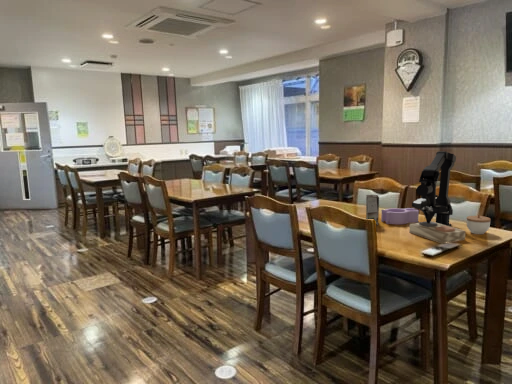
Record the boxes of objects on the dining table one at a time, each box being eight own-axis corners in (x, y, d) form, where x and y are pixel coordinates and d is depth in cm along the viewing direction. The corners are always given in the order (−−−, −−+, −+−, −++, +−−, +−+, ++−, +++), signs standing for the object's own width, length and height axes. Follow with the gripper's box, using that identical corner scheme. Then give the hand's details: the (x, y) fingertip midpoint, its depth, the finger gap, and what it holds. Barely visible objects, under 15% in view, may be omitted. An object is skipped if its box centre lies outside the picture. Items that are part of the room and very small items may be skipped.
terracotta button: (444, 233, 193) (445, 225, 192) (454, 236, 187) (454, 228, 186) (435, 234, 191) (435, 227, 190) (444, 238, 185) (445, 229, 184)
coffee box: (378, 225, 219) (379, 197, 216) (367, 224, 220) (367, 197, 218) (377, 221, 228) (377, 194, 225) (365, 221, 229) (366, 194, 226)
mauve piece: (411, 218, 233) (411, 207, 232) (422, 223, 221) (422, 211, 220) (379, 220, 231) (379, 208, 230) (388, 225, 219) (388, 213, 218)
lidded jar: (474, 228, 205) (475, 211, 203) (494, 233, 195) (495, 215, 194) (461, 231, 201) (462, 214, 199) (480, 236, 191) (481, 218, 189)
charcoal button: (428, 228, 203) (428, 221, 202) (437, 231, 197) (437, 223, 197) (419, 229, 201) (419, 222, 200) (427, 232, 195) (427, 224, 195)
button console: (430, 229, 207) (431, 221, 206) (464, 239, 186) (465, 230, 186) (409, 232, 202) (409, 224, 202) (442, 243, 182) (442, 234, 181)
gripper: (403, 191, 202) (403, 220, 205) (430, 197, 185) (429, 228, 187) (421, 190, 206) (420, 218, 208) (448, 195, 188) (447, 226, 191)
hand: (428, 222), depth 199 cm, fingers closed, pressing on charcoal button
